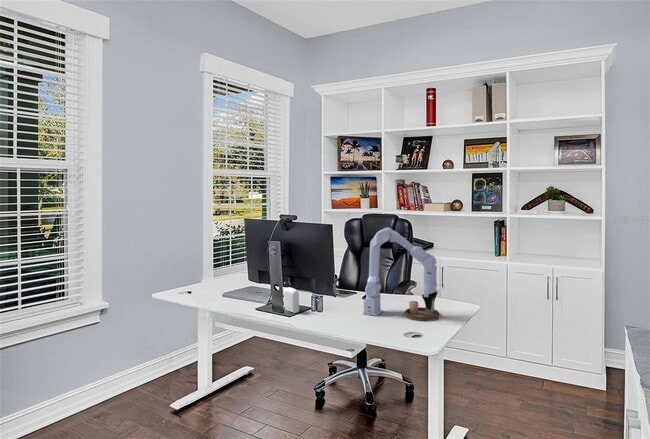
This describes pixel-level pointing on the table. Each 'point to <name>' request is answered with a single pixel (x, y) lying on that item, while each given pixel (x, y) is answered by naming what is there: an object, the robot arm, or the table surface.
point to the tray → (422, 315)
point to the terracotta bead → (413, 307)
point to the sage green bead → (431, 308)
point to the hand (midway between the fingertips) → (429, 308)
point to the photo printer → (291, 299)
